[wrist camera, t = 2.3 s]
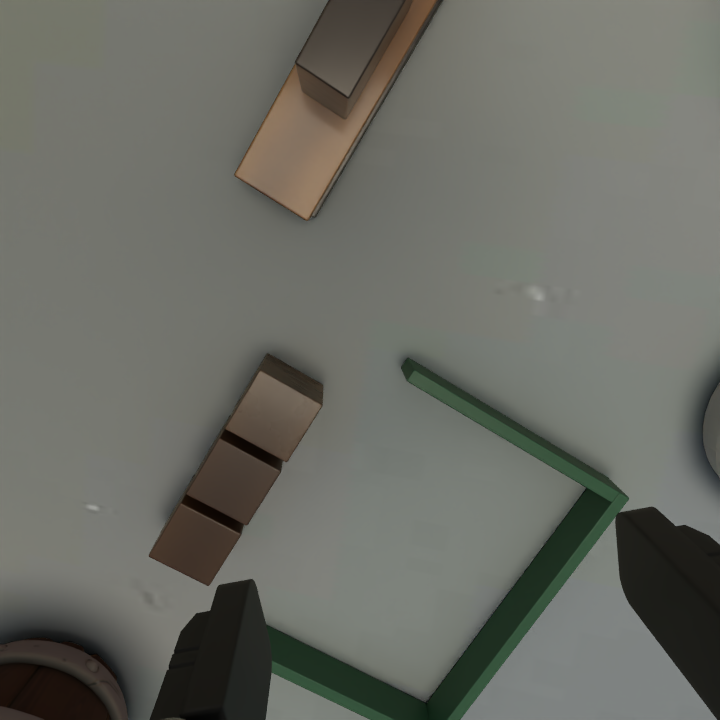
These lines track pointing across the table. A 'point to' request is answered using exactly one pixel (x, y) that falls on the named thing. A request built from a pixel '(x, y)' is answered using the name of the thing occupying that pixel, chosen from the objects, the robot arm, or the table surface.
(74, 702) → the flowerpot
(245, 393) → the cube
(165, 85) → the table surface
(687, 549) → the robot arm
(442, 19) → the table surface
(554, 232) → the table surface
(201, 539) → the cube
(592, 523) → the frame
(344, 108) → the hand brush
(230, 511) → the cube
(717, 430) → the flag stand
